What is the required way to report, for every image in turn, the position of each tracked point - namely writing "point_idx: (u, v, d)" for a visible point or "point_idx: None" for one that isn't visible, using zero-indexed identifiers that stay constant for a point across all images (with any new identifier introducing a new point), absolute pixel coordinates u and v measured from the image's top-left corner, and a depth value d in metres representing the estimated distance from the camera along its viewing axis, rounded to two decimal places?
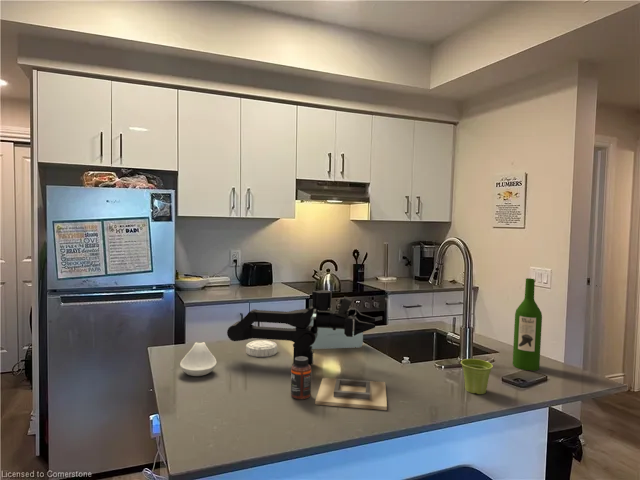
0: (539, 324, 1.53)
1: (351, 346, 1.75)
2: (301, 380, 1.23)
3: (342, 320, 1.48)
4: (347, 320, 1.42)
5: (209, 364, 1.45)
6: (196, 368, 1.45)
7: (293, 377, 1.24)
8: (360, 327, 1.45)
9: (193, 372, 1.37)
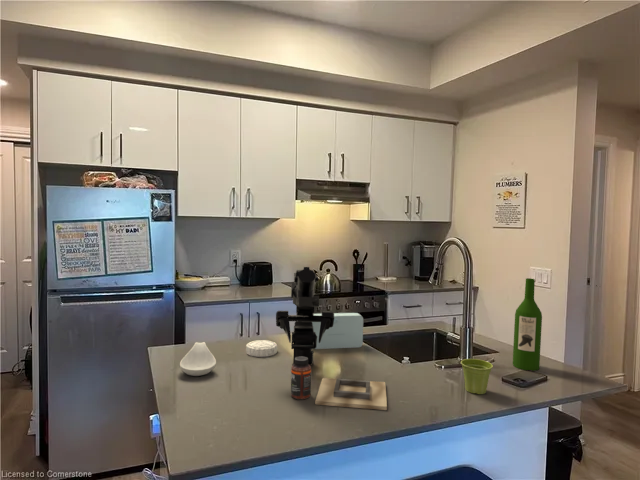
0: (539, 324, 1.53)
1: (351, 346, 1.76)
2: (301, 380, 1.23)
3: None
4: (276, 312, 1.38)
5: (209, 364, 1.46)
6: (196, 368, 1.45)
7: (293, 377, 1.24)
8: None
9: (192, 372, 1.37)
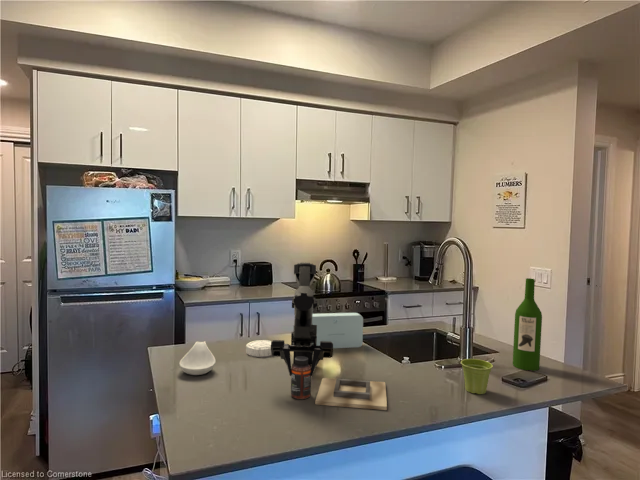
0: (539, 324, 1.53)
1: (351, 346, 1.76)
2: (301, 380, 1.23)
3: None
4: (271, 342, 1.29)
5: (208, 363, 1.46)
6: (196, 367, 1.45)
7: (293, 377, 1.24)
8: None
9: (191, 371, 1.38)
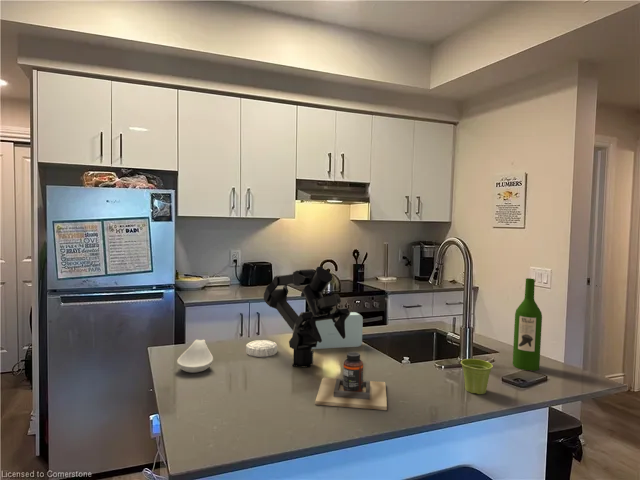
0: (539, 324, 1.53)
1: (351, 345, 1.77)
2: (359, 375, 1.26)
3: (314, 310, 1.42)
4: (301, 314, 1.36)
5: (206, 361, 1.48)
6: (194, 365, 1.48)
7: (351, 373, 1.26)
8: (311, 329, 1.38)
9: (188, 368, 1.40)
